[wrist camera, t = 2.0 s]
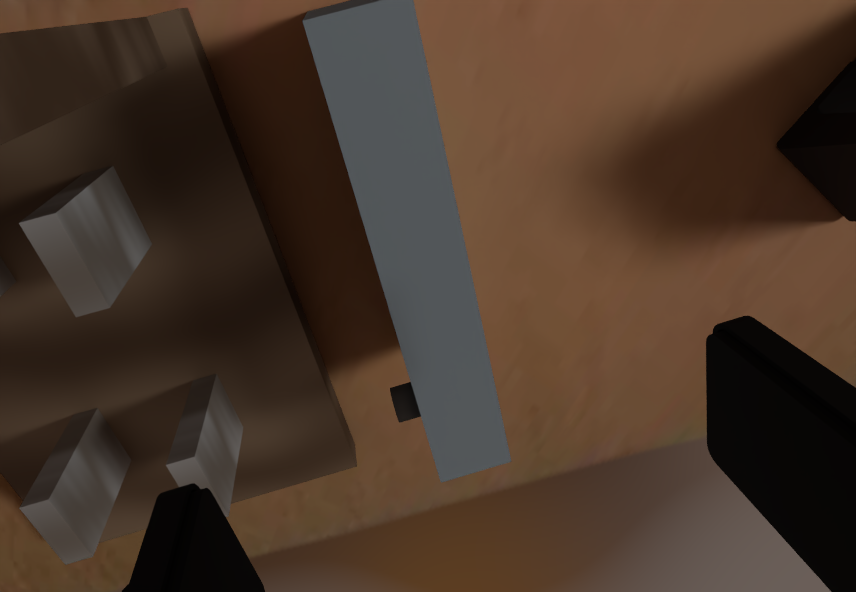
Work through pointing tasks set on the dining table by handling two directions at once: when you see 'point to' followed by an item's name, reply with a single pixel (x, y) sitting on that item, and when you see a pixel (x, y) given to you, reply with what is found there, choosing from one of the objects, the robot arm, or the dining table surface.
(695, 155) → the dining table surface
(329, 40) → the blue-grey rectangular block
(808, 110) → the phone stand
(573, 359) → the dining table surface
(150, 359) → the wooden peg rack
